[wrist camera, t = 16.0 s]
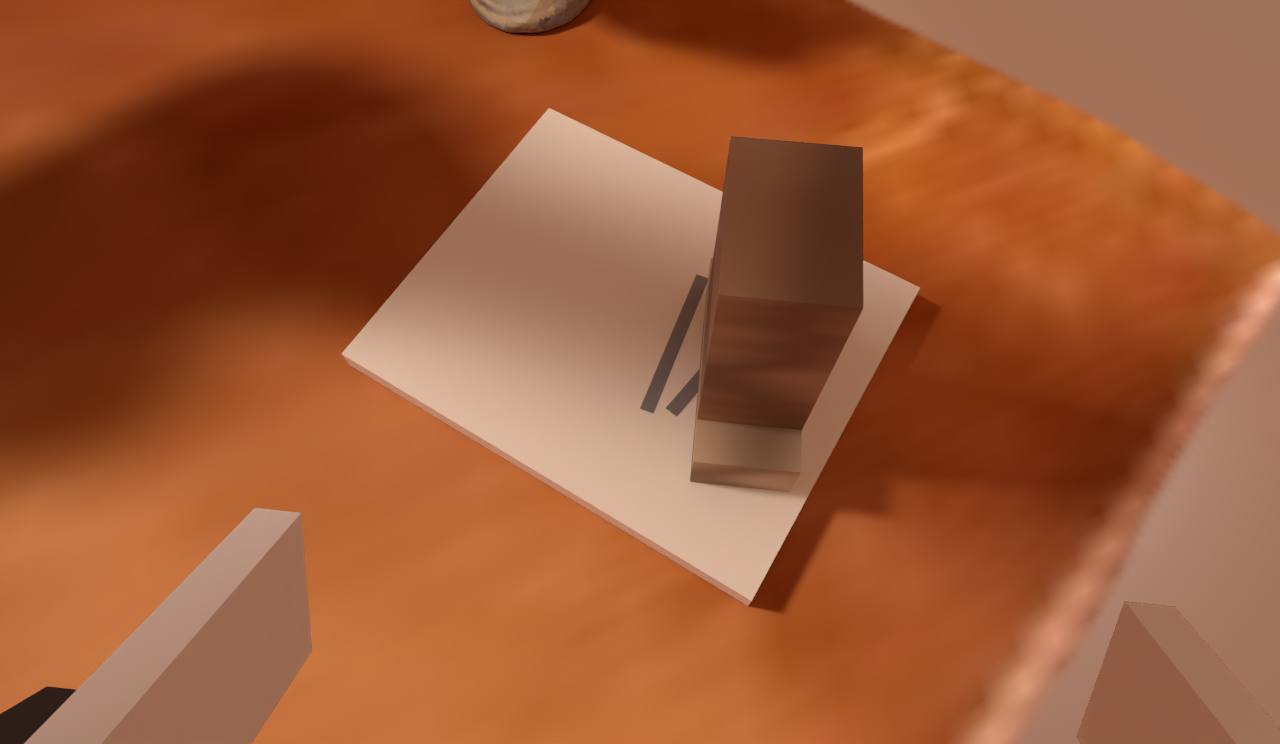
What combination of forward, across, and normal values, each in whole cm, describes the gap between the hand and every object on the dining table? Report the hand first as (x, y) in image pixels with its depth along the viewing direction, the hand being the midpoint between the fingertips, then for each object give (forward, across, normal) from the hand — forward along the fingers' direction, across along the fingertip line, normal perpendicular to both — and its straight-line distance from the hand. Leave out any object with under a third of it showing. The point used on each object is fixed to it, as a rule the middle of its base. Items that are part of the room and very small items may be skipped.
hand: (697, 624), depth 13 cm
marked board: (+24, -2, -3) cm, 25 cm away
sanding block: (+22, +2, -4) cm, 22 cm away
